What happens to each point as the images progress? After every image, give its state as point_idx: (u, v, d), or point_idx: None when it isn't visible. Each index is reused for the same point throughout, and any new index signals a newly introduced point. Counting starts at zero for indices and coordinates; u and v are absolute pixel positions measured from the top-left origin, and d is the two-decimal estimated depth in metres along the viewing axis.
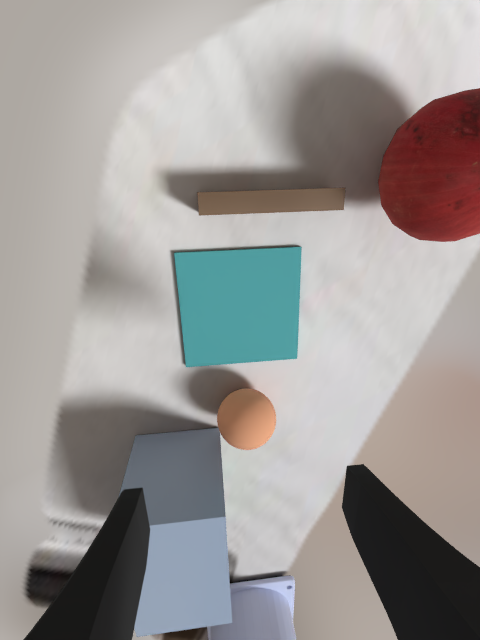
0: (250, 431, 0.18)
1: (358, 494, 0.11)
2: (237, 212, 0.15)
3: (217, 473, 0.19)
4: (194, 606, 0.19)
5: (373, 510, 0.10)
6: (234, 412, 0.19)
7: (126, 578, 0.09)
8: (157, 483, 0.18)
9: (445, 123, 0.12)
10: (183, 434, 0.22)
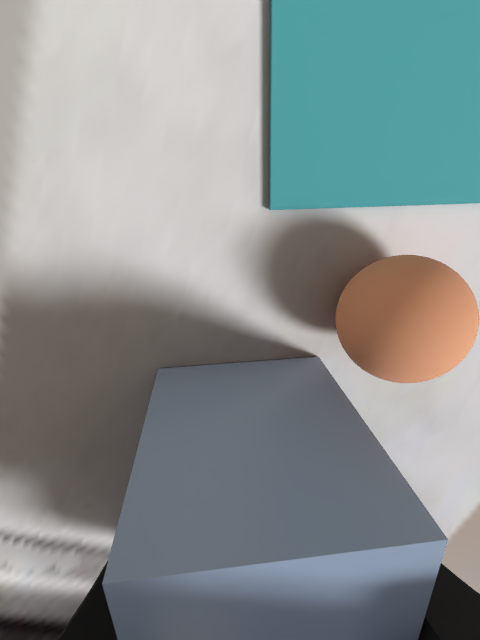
0: (446, 327, 0.08)
1: None
2: None
3: (358, 431, 0.08)
4: None
5: None
6: (400, 286, 0.08)
7: None
8: (223, 453, 0.07)
9: None
10: (252, 366, 0.11)
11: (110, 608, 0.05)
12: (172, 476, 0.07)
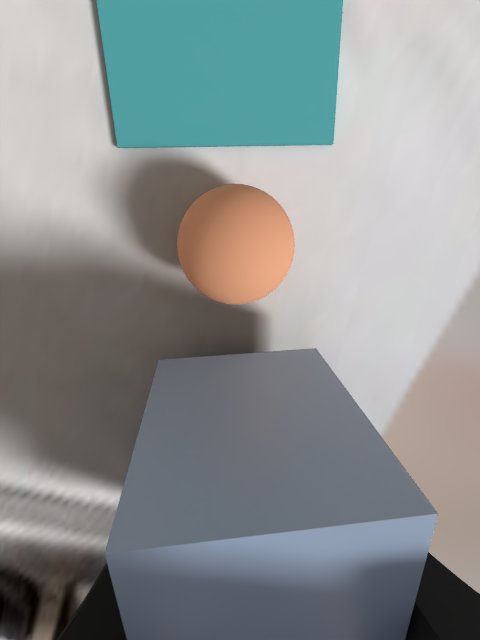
0: (242, 238, 0.08)
1: None
2: None
3: (354, 416, 0.08)
4: None
5: None
6: (208, 205, 0.09)
7: None
8: (222, 436, 0.08)
9: None
10: (251, 357, 0.11)
11: (112, 579, 0.05)
12: (172, 457, 0.07)
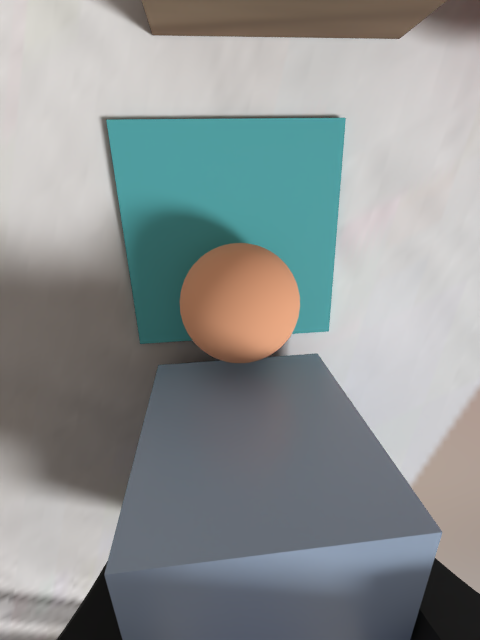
0: None
1: None
2: None
3: (356, 427, 0.08)
4: None
5: None
6: None
7: None
8: (223, 448, 0.07)
9: None
10: (251, 363, 0.11)
11: (112, 598, 0.05)
12: (172, 470, 0.07)
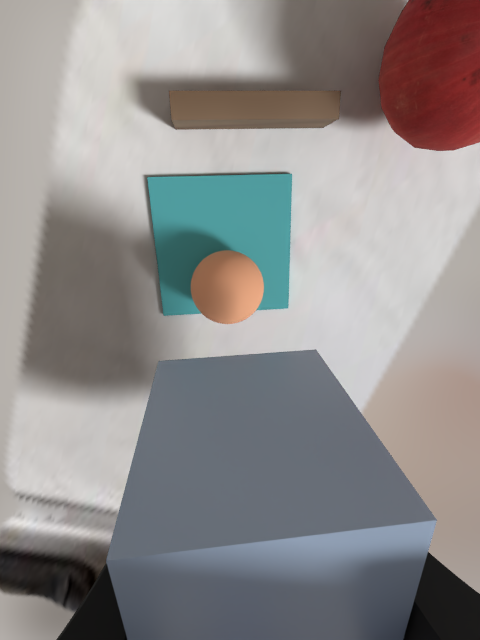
0: None
1: None
2: (216, 118, 0.13)
3: (353, 420, 0.08)
4: None
5: None
6: None
7: None
8: (222, 441, 0.08)
9: None
10: (251, 359, 0.11)
11: (114, 584, 0.05)
12: (172, 462, 0.07)
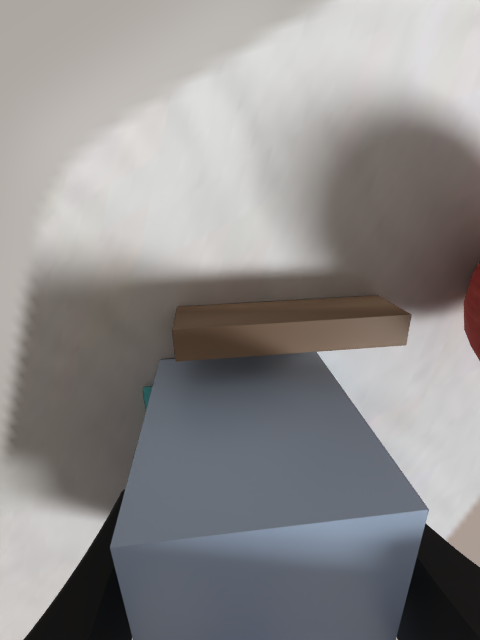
0: None
1: None
2: (237, 354, 0.10)
3: (350, 416, 0.08)
4: None
5: None
6: None
7: None
8: (221, 435, 0.08)
9: None
10: (250, 357, 0.11)
11: (117, 571, 0.06)
12: (174, 455, 0.07)
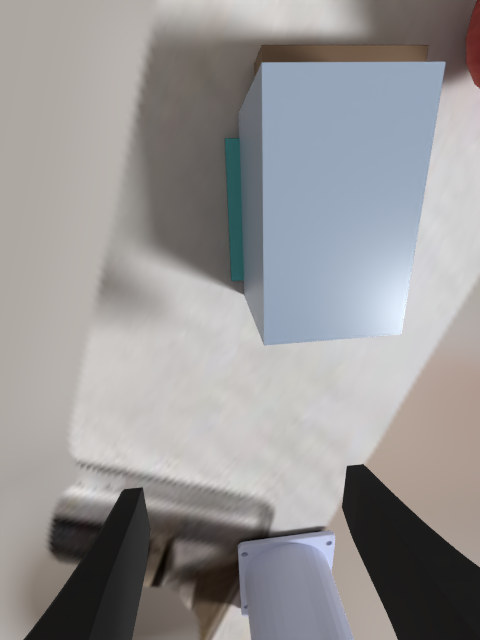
0: None
1: (358, 494, 0.11)
2: None
3: None
4: (356, 287, 0.12)
5: (373, 510, 0.10)
6: None
7: (126, 578, 0.09)
8: None
9: None
10: None
11: (262, 89, 0.10)
12: None
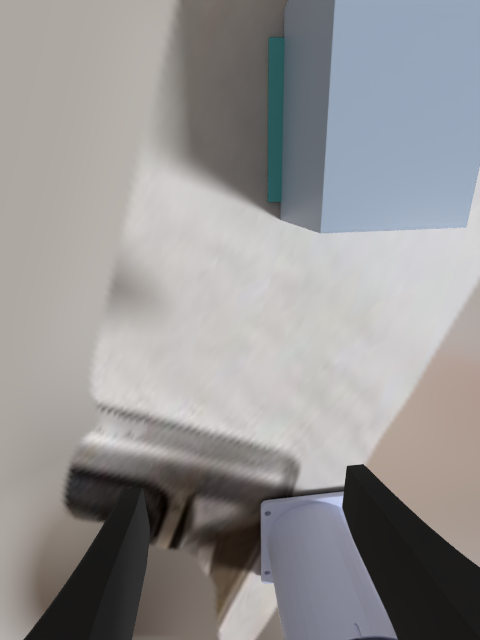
0: None
1: (358, 494, 0.11)
2: None
3: None
4: (423, 166, 0.11)
5: (373, 510, 0.10)
6: None
7: (126, 578, 0.09)
8: None
9: None
10: None
11: None
12: None
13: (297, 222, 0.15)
